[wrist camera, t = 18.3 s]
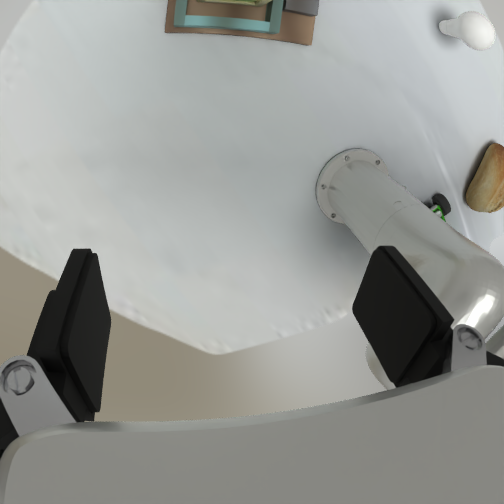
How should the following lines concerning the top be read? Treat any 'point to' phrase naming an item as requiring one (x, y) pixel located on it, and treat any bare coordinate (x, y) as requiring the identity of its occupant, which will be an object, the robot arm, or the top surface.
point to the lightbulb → (470, 30)
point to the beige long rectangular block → (239, 2)
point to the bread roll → (488, 182)
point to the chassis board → (245, 19)
